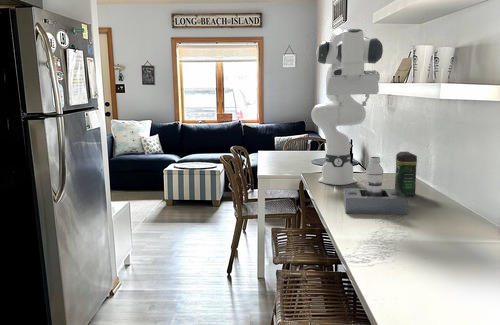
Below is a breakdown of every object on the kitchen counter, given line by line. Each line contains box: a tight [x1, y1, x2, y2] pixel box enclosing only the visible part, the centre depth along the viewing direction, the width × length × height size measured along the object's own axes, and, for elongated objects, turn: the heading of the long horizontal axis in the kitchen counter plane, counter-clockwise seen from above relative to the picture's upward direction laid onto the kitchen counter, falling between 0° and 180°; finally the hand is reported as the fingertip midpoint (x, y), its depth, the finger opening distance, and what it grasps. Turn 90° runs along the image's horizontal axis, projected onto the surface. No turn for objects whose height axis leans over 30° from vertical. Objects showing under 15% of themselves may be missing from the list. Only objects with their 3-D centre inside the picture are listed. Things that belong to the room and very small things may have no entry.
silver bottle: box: [365, 156, 384, 197], centre depth 163 cm, size 6×7×20 cm
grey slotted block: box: [342, 187, 408, 216], centre depth 164 cm, size 15×22×6 cm
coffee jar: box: [394, 151, 418, 197], centre depth 183 cm, size 10×8×19 cm
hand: (352, 106), depth 170 cm, fingers open, 8 cm apart
